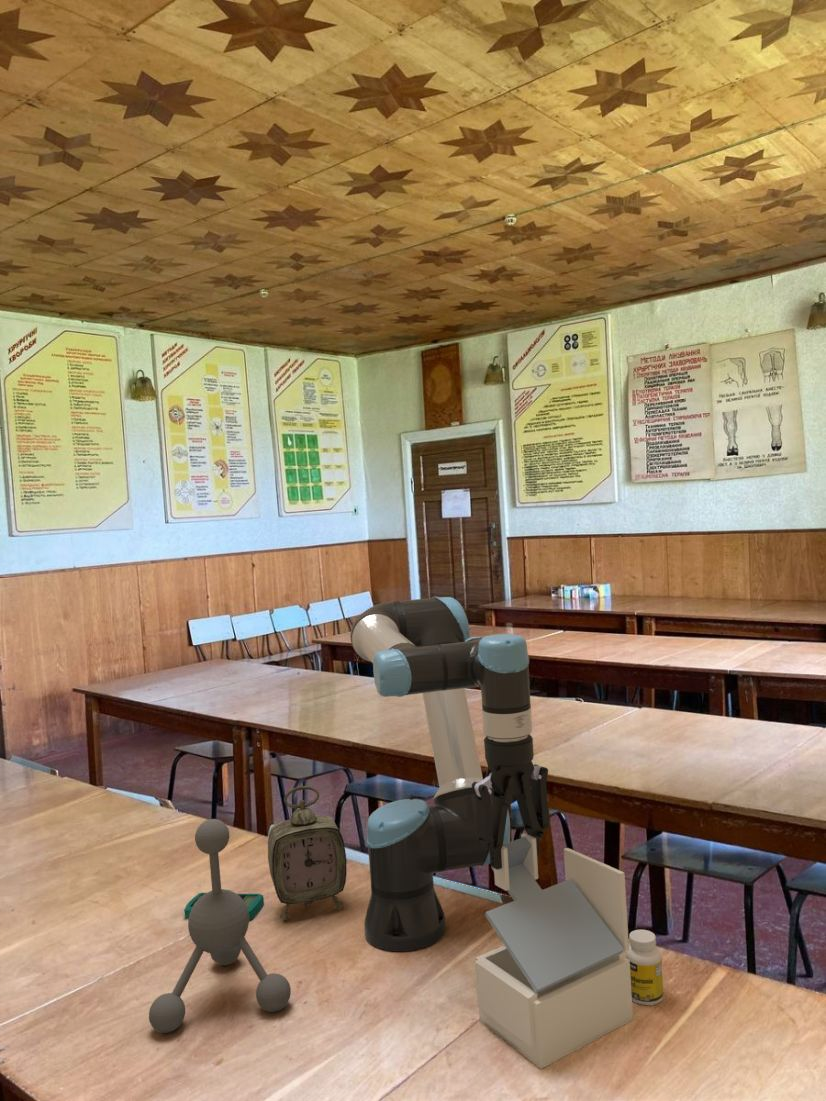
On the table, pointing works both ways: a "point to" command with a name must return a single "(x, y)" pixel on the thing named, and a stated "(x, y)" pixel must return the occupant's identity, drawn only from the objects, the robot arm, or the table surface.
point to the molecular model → (217, 938)
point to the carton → (573, 1004)
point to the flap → (549, 926)
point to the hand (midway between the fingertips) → (516, 881)
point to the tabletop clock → (306, 857)
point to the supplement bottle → (645, 968)
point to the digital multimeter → (251, 900)
